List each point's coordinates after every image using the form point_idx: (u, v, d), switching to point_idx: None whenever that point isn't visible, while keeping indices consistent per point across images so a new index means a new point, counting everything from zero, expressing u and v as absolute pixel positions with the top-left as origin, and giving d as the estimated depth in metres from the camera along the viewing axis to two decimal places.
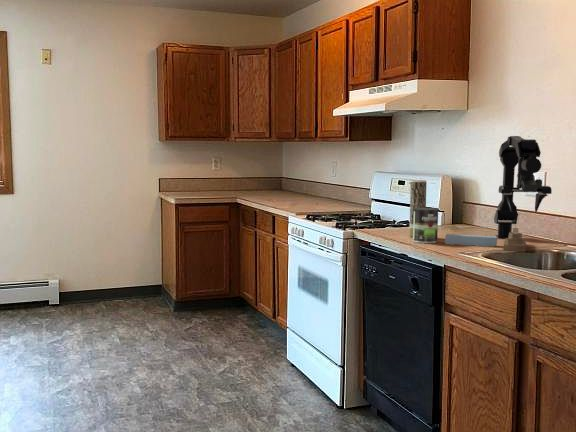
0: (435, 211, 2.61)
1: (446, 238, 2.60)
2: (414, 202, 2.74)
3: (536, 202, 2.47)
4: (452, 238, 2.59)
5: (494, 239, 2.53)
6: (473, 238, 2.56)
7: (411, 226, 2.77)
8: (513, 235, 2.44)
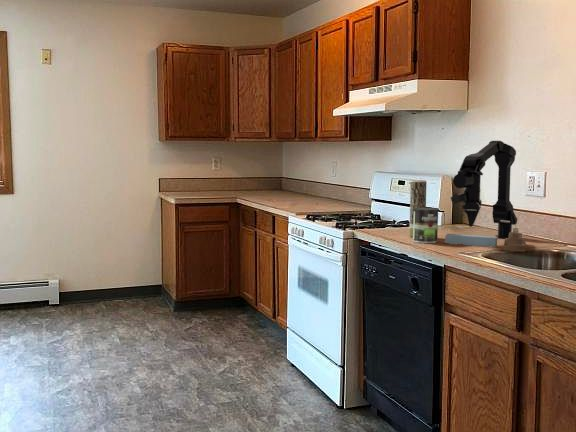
0: (435, 211, 2.61)
1: (446, 238, 2.61)
2: (414, 202, 2.74)
3: None
4: (452, 237, 2.60)
5: (493, 239, 2.52)
6: (472, 238, 2.56)
7: (411, 226, 2.77)
8: (513, 235, 2.44)
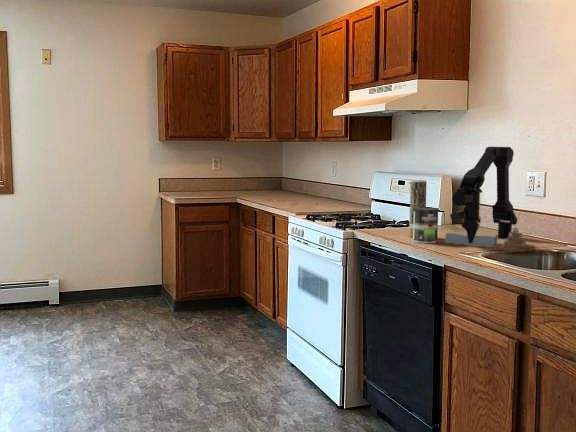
0: (435, 211, 2.61)
1: (446, 237, 2.62)
2: (414, 202, 2.74)
3: None
4: (452, 237, 2.61)
5: (492, 239, 2.52)
6: None
7: (411, 226, 2.77)
8: (513, 235, 2.44)
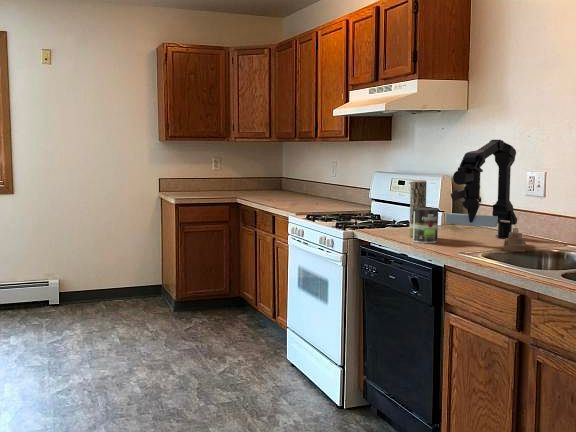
0: (435, 211, 2.61)
1: (447, 217, 2.61)
2: (414, 202, 2.74)
3: None
4: (452, 217, 2.60)
5: (493, 218, 2.51)
6: None
7: (411, 226, 2.77)
8: (513, 235, 2.44)
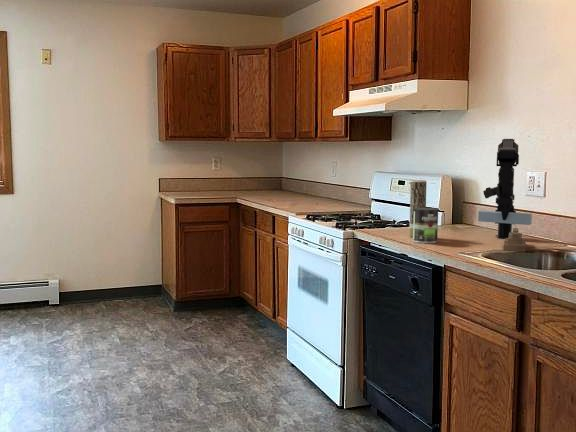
0: (435, 211, 2.61)
1: (479, 214, 2.57)
2: (414, 202, 2.74)
3: None
4: (485, 214, 2.55)
5: (527, 216, 2.46)
6: None
7: (411, 226, 2.77)
8: (513, 235, 2.44)
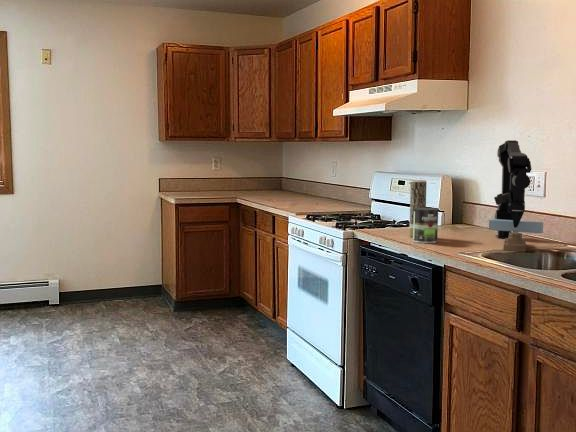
0: (435, 211, 2.61)
1: (490, 223, 2.55)
2: (414, 202, 2.74)
3: None
4: (495, 223, 2.54)
5: (539, 224, 2.45)
6: None
7: (411, 226, 2.77)
8: (513, 235, 2.44)
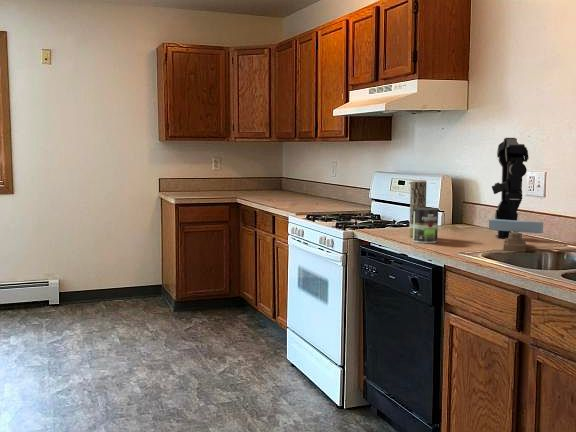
0: (435, 211, 2.61)
1: (490, 223, 2.55)
2: (414, 202, 2.74)
3: None
4: (495, 223, 2.54)
5: (539, 224, 2.45)
6: (517, 223, 2.49)
7: (411, 226, 2.77)
8: (513, 235, 2.44)
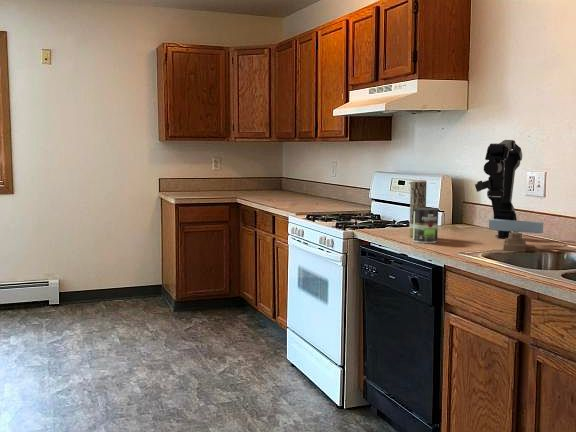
0: (435, 211, 2.61)
1: (490, 223, 2.55)
2: (414, 202, 2.74)
3: None
4: (495, 223, 2.54)
5: (539, 224, 2.45)
6: (517, 223, 2.49)
7: (411, 226, 2.77)
8: (513, 235, 2.44)
